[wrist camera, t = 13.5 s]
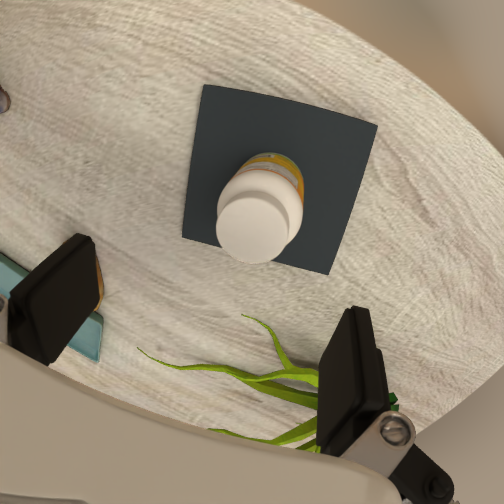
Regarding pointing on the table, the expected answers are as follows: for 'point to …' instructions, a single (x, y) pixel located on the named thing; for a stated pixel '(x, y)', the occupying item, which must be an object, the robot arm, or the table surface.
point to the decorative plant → (279, 394)
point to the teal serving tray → (89, 334)
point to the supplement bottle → (260, 208)
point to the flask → (4, 100)
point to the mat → (287, 144)
